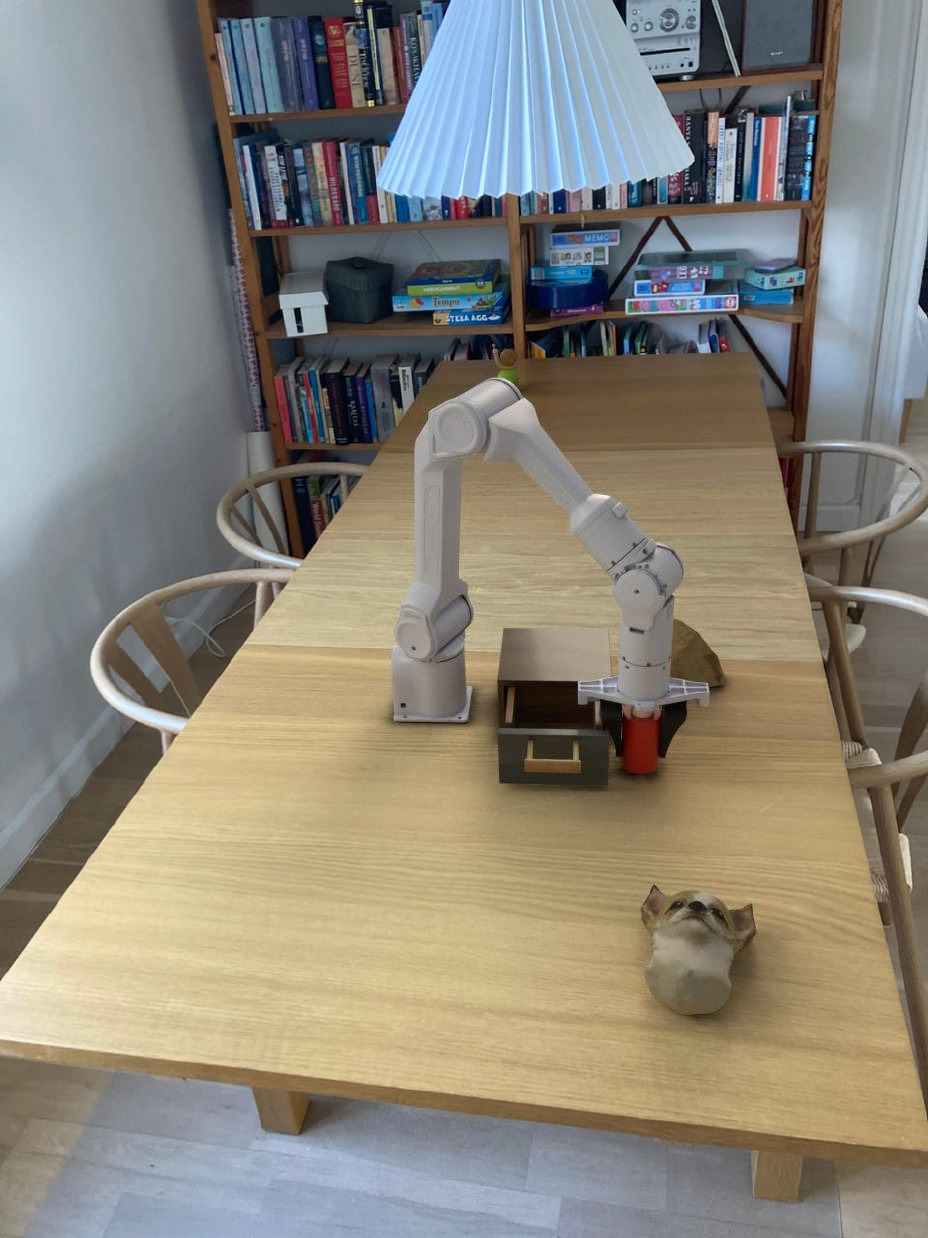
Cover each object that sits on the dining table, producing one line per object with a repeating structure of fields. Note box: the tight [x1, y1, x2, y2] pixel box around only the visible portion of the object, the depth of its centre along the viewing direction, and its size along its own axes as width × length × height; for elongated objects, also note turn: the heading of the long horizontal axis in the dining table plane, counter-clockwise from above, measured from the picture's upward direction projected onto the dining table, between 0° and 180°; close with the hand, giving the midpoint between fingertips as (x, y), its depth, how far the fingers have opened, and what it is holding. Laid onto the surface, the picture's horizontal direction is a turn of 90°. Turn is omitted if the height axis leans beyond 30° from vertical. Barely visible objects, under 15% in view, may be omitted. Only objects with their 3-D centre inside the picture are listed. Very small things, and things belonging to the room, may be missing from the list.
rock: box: [670, 618, 726, 688], centre depth 132 cm, size 11×9×10 cm
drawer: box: [497, 686, 611, 787], centre depth 117 cm, size 16×12×7 cm
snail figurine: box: [491, 343, 520, 388], centre depth 251 cm, size 5×6×12 cm
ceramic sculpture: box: [640, 883, 757, 1016], centre depth 91 cm, size 11×9×15 cm
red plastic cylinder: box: [620, 704, 662, 775], centre depth 117 cm, size 4×4×8 cm
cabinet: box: [496, 627, 613, 743], centre depth 128 cm, size 13×14×9 cm
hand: (639, 752), depth 118 cm, fingers closed on red plastic cylinder, 4 cm apart
